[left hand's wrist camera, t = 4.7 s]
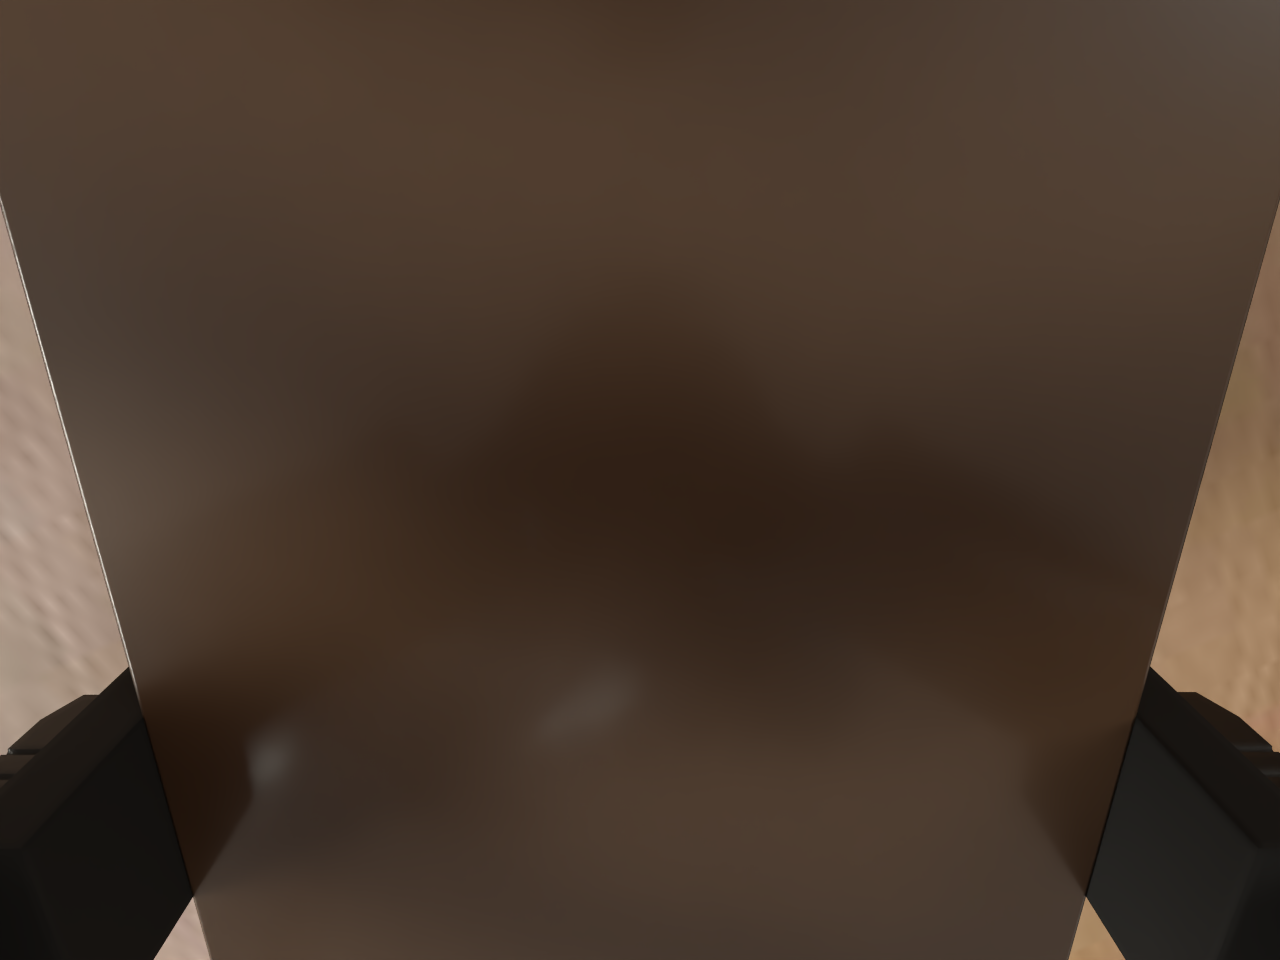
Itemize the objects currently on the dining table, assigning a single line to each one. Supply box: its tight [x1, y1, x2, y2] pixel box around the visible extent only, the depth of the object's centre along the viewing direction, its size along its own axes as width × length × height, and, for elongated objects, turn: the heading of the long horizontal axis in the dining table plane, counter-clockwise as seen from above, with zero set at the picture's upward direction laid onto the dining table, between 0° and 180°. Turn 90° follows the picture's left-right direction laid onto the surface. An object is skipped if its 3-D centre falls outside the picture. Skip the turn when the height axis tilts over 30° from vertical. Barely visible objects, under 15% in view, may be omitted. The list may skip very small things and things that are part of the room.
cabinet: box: [0, 0, 1280, 960], centre depth 12 cm, size 16×11×10 cm
